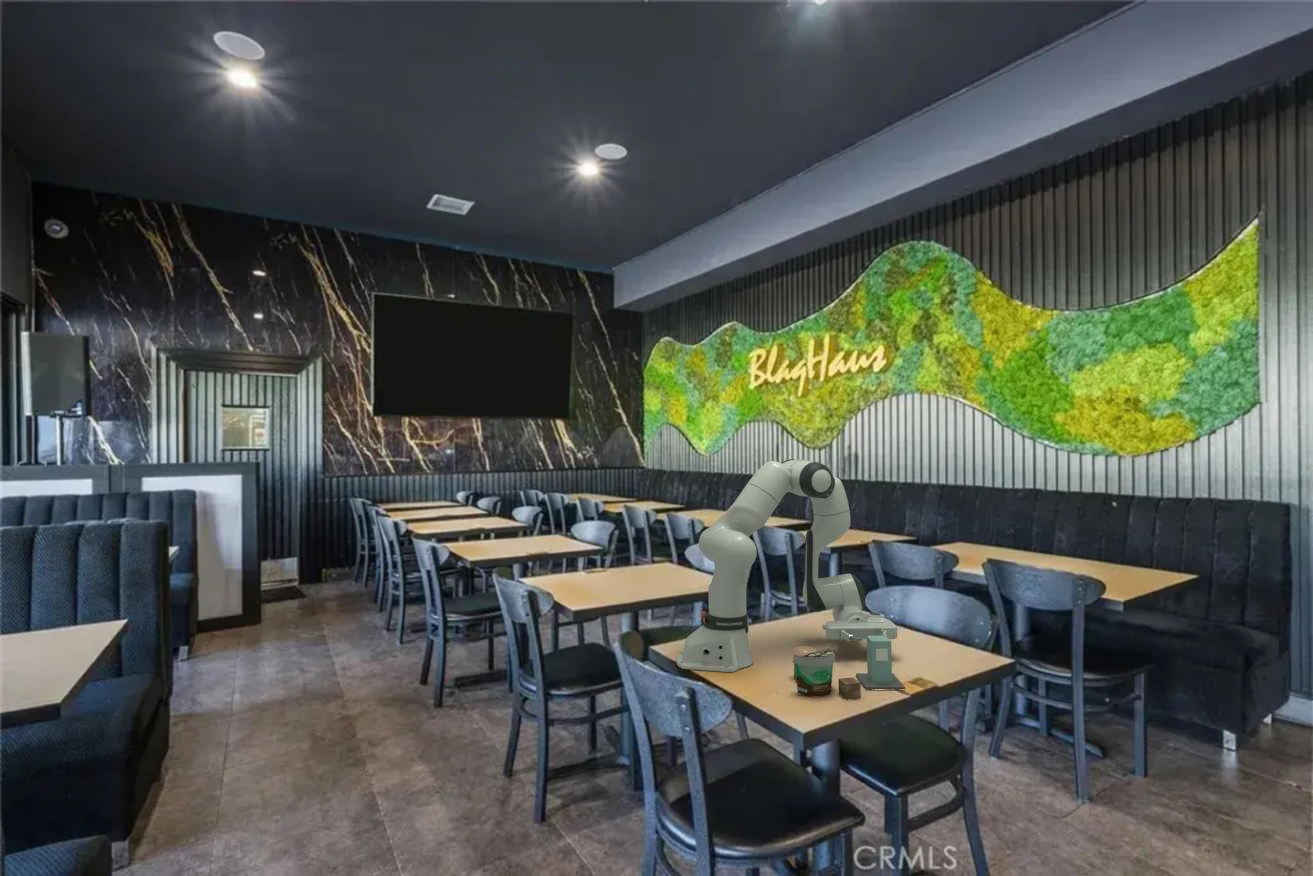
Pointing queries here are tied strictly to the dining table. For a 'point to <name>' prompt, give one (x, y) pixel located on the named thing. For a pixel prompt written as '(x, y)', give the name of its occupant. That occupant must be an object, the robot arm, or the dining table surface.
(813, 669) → the food container
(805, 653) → the tan rounded cylinder
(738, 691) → the dining table surface
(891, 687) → the mat
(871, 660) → the tall green rectangular block
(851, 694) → the walnut cube
